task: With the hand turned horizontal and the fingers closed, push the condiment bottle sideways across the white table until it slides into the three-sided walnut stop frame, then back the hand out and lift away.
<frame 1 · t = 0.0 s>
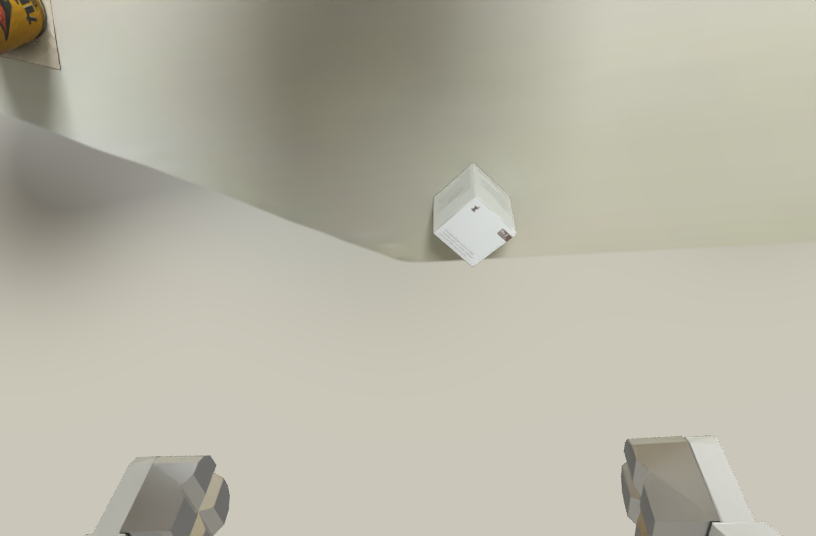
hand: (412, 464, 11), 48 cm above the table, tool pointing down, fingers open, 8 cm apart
condiment: (16, 15, 54), on the table
skincare box: (471, 196, 62), on the table
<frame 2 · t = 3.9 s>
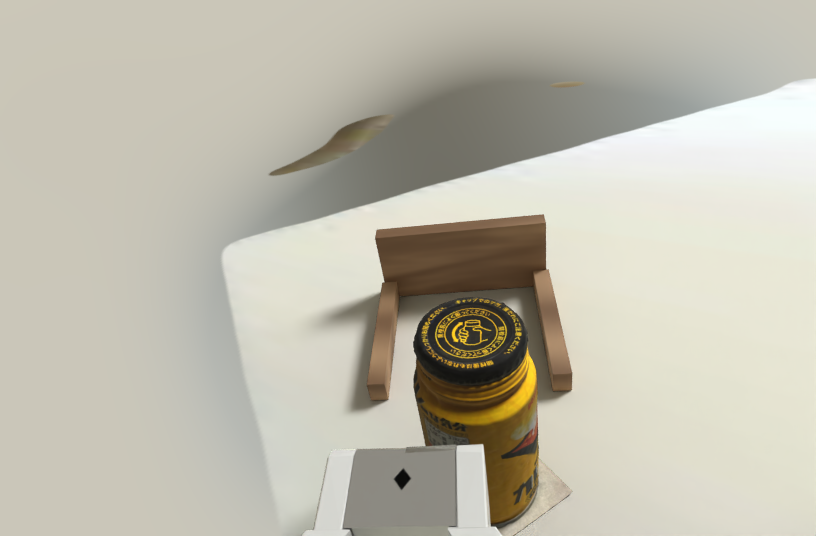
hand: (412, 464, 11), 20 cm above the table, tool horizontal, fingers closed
condiment: (472, 488, 33), on the table
corral: (467, 338, 43), on the table
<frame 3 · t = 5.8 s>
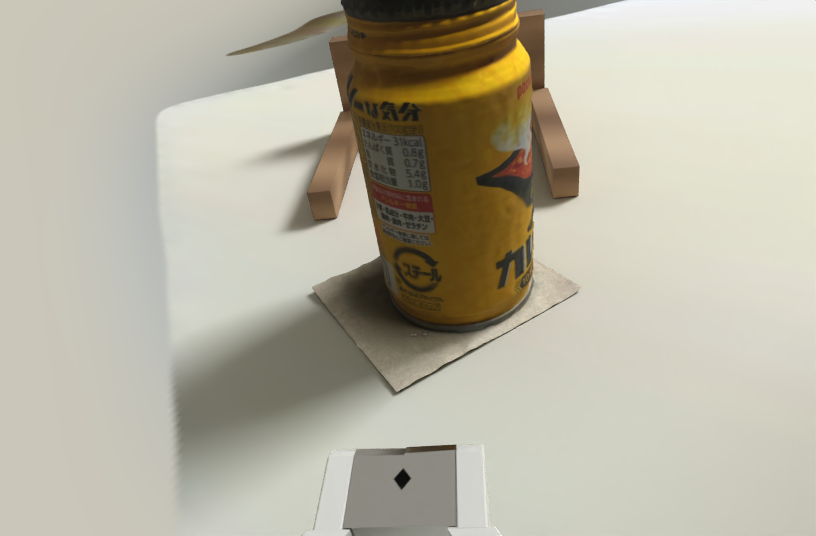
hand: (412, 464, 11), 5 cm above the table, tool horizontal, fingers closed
condiment: (441, 296, 24), on the table
corral: (443, 160, 33), on the table
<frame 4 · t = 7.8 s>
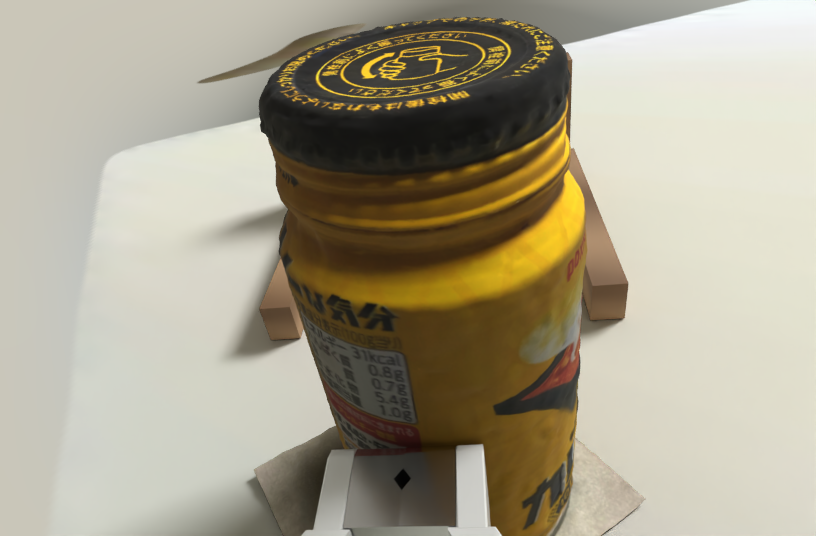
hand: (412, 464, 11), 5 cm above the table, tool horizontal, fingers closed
condiment: (437, 492, 16), on the table, touching gripper
corral: (442, 247, 26), on the table
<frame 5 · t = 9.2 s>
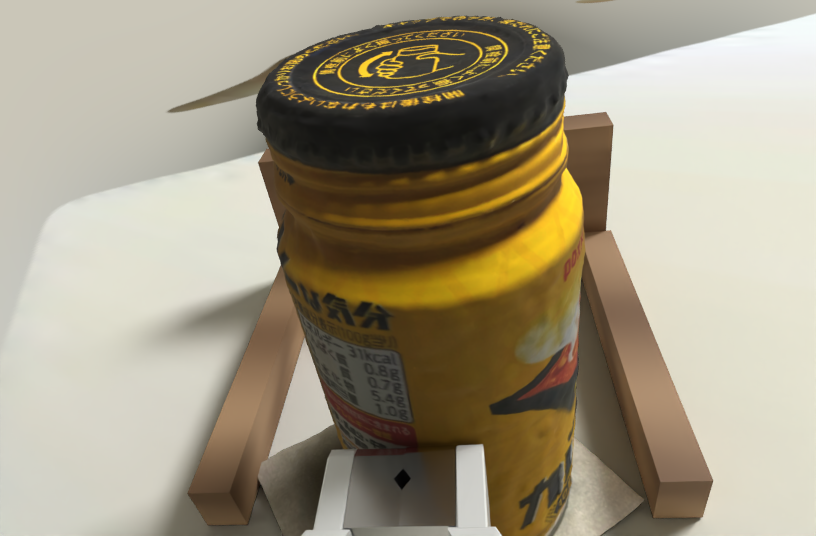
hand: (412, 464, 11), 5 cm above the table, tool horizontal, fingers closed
condiment: (436, 491, 16), on the table, touching gripper
corral: (443, 371, 20), on the table
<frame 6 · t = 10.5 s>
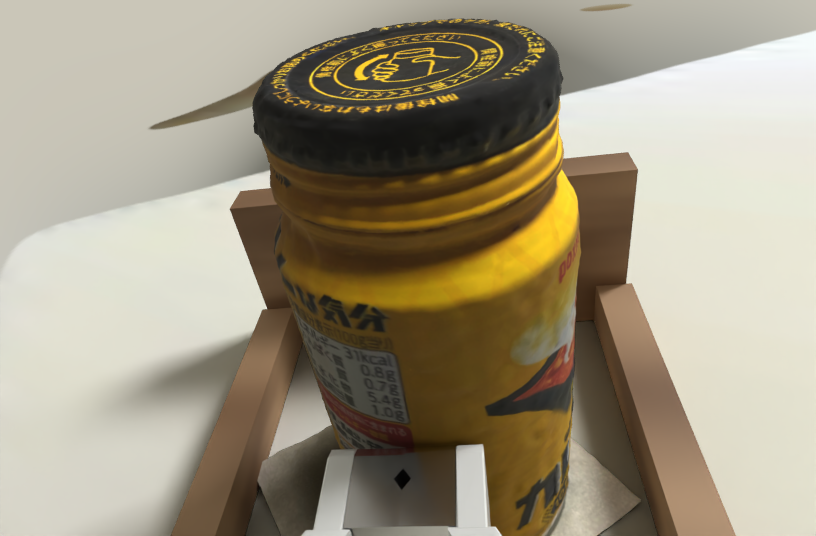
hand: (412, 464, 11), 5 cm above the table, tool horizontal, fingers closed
condiment: (433, 492, 16), on the table, touching gripper
corral: (441, 454, 17), on the table
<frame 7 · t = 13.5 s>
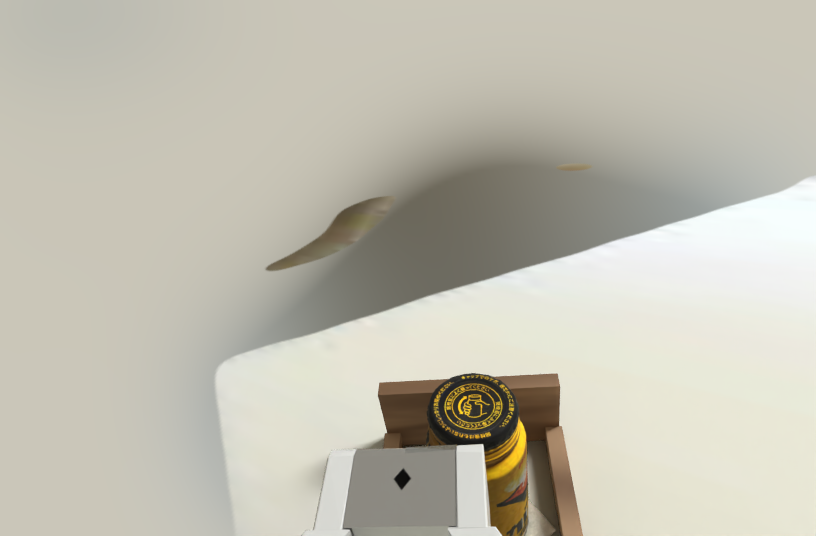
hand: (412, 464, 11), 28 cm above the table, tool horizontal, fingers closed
condiment: (472, 525, 39), on the table
corral: (475, 509, 40), on the table
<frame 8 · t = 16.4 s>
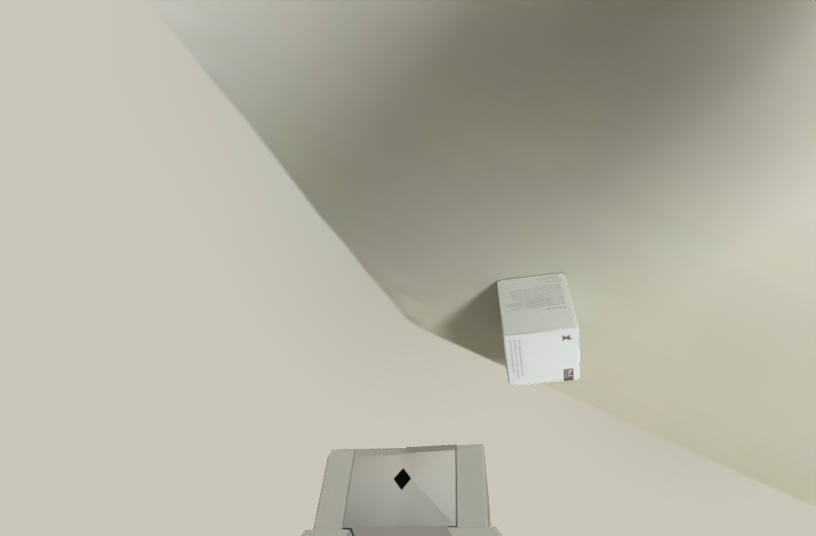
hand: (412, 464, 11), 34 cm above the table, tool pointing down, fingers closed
skincare box: (532, 299, 52), on the table
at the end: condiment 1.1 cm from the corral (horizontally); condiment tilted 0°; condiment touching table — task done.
